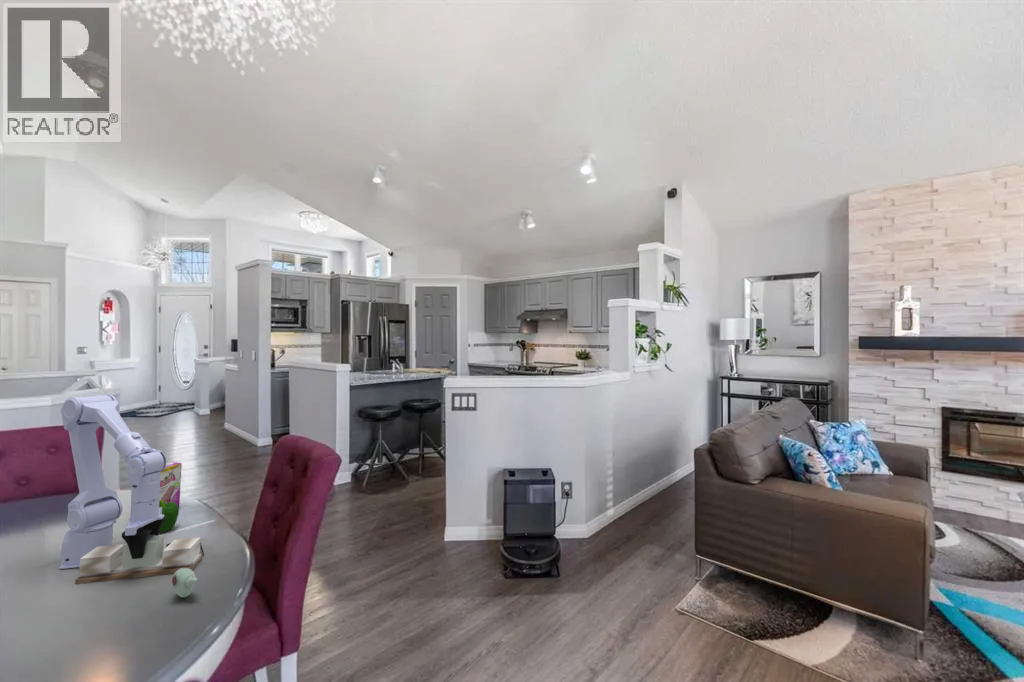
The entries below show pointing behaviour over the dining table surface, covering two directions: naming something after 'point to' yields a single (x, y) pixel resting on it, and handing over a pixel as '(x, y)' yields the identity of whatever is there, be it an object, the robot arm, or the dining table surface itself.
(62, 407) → the robot arm
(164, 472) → the candy bar box
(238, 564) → the dining table surface
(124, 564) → the block
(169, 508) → the bell pepper
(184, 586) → the robot head
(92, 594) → the dining table surface
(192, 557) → the board
